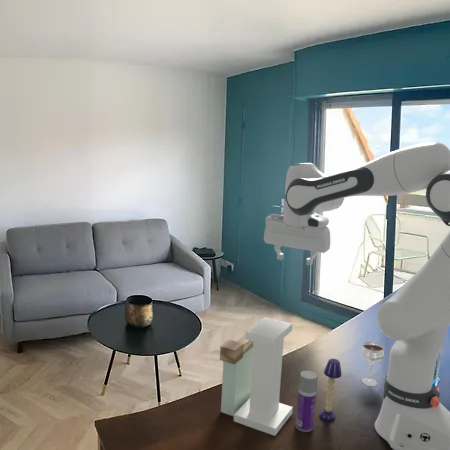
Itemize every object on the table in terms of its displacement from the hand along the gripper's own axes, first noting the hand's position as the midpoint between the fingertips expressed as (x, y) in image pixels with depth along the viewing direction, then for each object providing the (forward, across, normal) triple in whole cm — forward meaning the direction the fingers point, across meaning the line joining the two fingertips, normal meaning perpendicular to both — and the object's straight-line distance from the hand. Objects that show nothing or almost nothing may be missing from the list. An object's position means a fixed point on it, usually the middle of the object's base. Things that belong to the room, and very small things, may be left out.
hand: (294, 261), depth 157 cm
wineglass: (+37, +24, +10) cm, 45 cm away
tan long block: (+21, -5, -23) cm, 31 cm away
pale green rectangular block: (+37, -5, -24) cm, 44 cm away
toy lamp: (+37, +19, -16) cm, 45 cm away
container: (+37, +15, -24) cm, 47 cm away
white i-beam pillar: (+37, +4, -26) cm, 45 cm away
